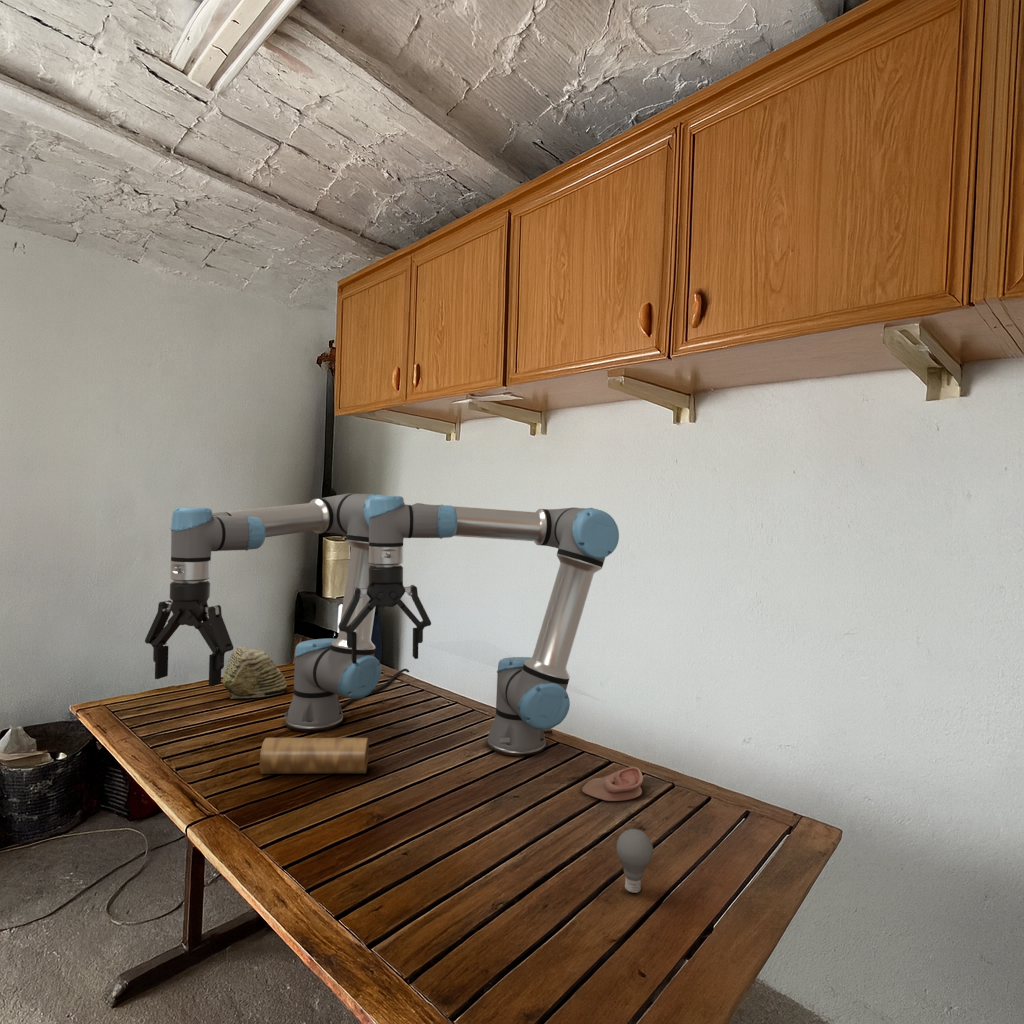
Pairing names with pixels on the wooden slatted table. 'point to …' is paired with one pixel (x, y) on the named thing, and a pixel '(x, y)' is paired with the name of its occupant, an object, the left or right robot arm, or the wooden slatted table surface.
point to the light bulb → (634, 857)
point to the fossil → (252, 674)
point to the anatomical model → (616, 785)
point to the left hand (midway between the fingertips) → (187, 681)
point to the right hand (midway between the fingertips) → (385, 659)
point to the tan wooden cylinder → (314, 756)
